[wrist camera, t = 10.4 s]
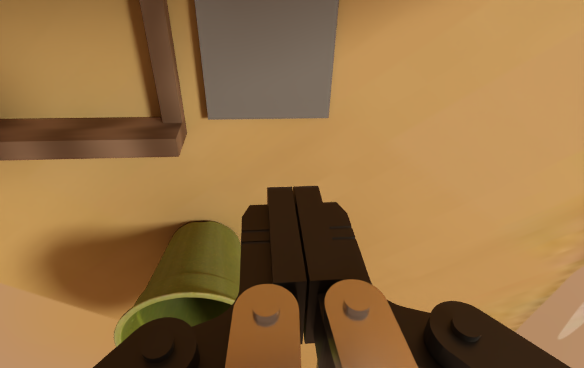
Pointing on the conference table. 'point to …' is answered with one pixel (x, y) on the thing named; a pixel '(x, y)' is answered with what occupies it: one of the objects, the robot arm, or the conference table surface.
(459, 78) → the conference table surface
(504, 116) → the conference table surface
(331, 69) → the pad
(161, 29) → the wooden frame
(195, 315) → the plant pot
